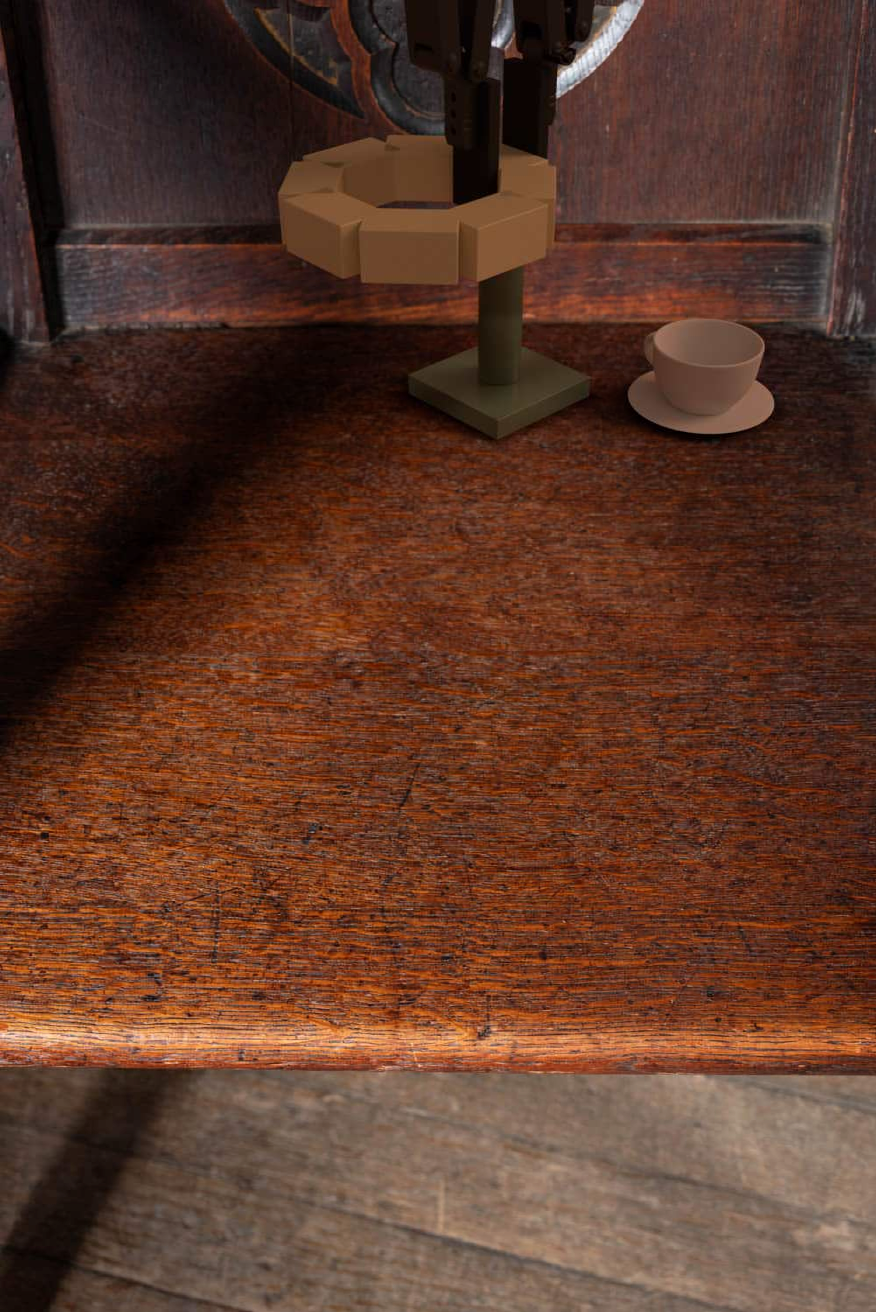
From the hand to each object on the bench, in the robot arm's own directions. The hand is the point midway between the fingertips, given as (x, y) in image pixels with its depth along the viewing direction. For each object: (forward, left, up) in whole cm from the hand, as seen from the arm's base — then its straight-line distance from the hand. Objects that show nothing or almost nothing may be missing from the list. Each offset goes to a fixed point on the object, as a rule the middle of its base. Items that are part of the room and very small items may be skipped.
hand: (499, 199), depth 67 cm
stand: (-9, +9, -18) cm, 23 cm away
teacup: (+1, +18, -19) cm, 26 cm away
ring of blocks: (0, -5, 0) cm, 5 cm away
